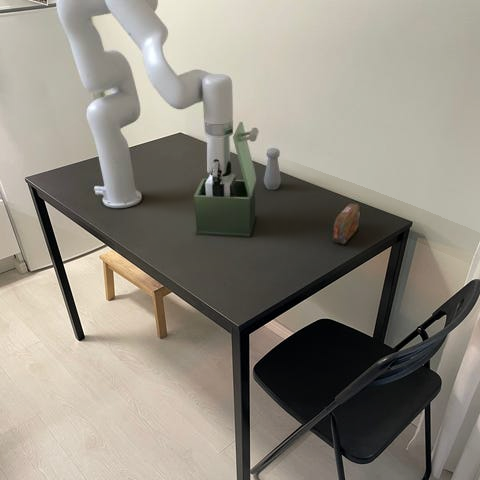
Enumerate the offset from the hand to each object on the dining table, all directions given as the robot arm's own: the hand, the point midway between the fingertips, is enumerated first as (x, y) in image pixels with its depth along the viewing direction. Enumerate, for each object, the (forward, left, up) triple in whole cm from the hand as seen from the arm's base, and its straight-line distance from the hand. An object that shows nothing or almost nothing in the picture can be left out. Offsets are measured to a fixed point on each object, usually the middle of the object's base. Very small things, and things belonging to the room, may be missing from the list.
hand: (221, 190), depth 138 cm
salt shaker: (+12, +28, -11) cm, 33 cm away
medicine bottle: (0, 0, -4) cm, 4 cm away
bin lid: (+7, 0, +9) cm, 11 cm away
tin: (+36, -3, -11) cm, 38 cm away
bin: (+1, 0, -11) cm, 11 cm away
